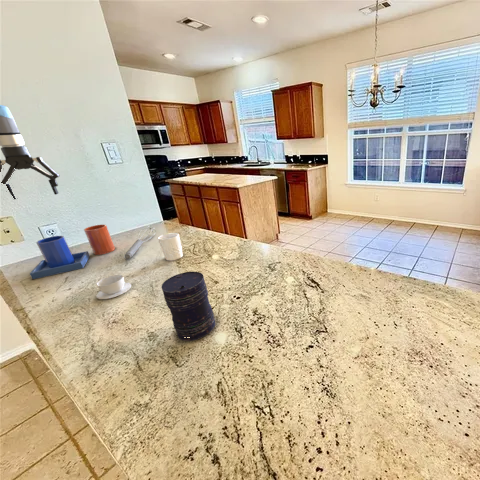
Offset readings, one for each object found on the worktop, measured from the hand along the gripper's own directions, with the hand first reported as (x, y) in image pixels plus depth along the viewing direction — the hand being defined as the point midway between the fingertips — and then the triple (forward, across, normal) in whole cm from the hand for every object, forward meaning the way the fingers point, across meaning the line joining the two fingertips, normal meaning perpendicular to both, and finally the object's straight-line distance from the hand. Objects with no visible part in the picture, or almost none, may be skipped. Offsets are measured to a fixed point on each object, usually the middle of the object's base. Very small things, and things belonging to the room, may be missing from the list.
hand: (36, 196), depth 118 cm
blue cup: (+26, -6, +25) cm, 36 cm away
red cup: (+27, -19, +15) cm, 36 cm away
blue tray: (+27, -6, +25) cm, 37 cm away
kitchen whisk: (+27, -34, +19) cm, 47 cm away
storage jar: (+27, -50, +98) cm, 113 cm away
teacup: (+27, -27, +62) cm, 73 cm away
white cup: (+27, -47, +44) cm, 70 cm away
